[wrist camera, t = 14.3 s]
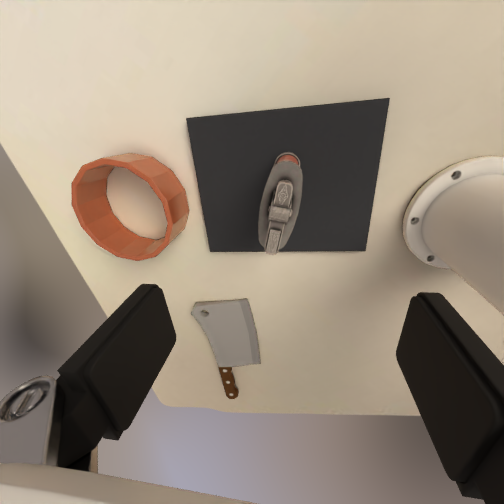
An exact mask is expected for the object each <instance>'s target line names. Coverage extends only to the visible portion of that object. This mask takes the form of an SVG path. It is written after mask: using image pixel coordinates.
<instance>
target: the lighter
mask: <svg viewBox="0 0 504 504" xmlns="http://www.w3.org/2000/svg"><path fill="white" fill-rule="evenodd" d="M302 181H303V175H302V170H301V168H300V161H299V159H298V157H297V156H296V155H295V154H293V153H291V152H285V153H282V154H280V155H279V156H278V157H277V159H276V161H275V164H274V166H273V168H272V170H271V173H270V175H269V178H268V181H267V183H266V186H265V189H264V192H263V196H262V200H261V204H260V211H259V221H258V232H259V242H260V244H261V245H262V246H263V247H264V248H265V252H266V253H267V254H271V255H275V254H277V253H278V250H279V249H281V248H283V247H284V246H285V245H286V243H287V241H288V239H289V237H290V235H291V233H292V231H293V228H294V225H295V222H296V219H297V216H298V212H299V207H300V202H301V196H302Z"/></svg>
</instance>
